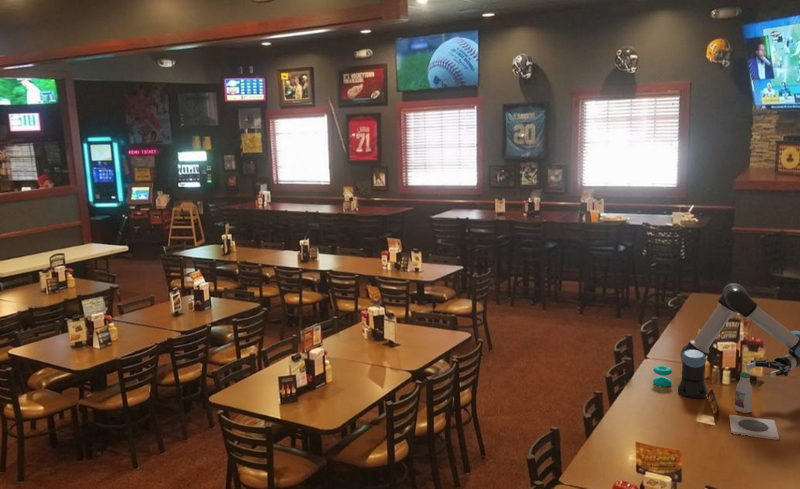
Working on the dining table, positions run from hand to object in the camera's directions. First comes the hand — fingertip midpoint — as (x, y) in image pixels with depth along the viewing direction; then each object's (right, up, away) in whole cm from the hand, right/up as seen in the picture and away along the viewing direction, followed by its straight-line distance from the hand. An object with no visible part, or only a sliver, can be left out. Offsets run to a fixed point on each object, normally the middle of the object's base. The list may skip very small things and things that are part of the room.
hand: (758, 371), depth 343 cm
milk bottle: (-8, -20, -1) cm, 22 cm away
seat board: (-14, -24, -21) cm, 35 cm away
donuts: (-36, -15, +37) cm, 53 cm away
